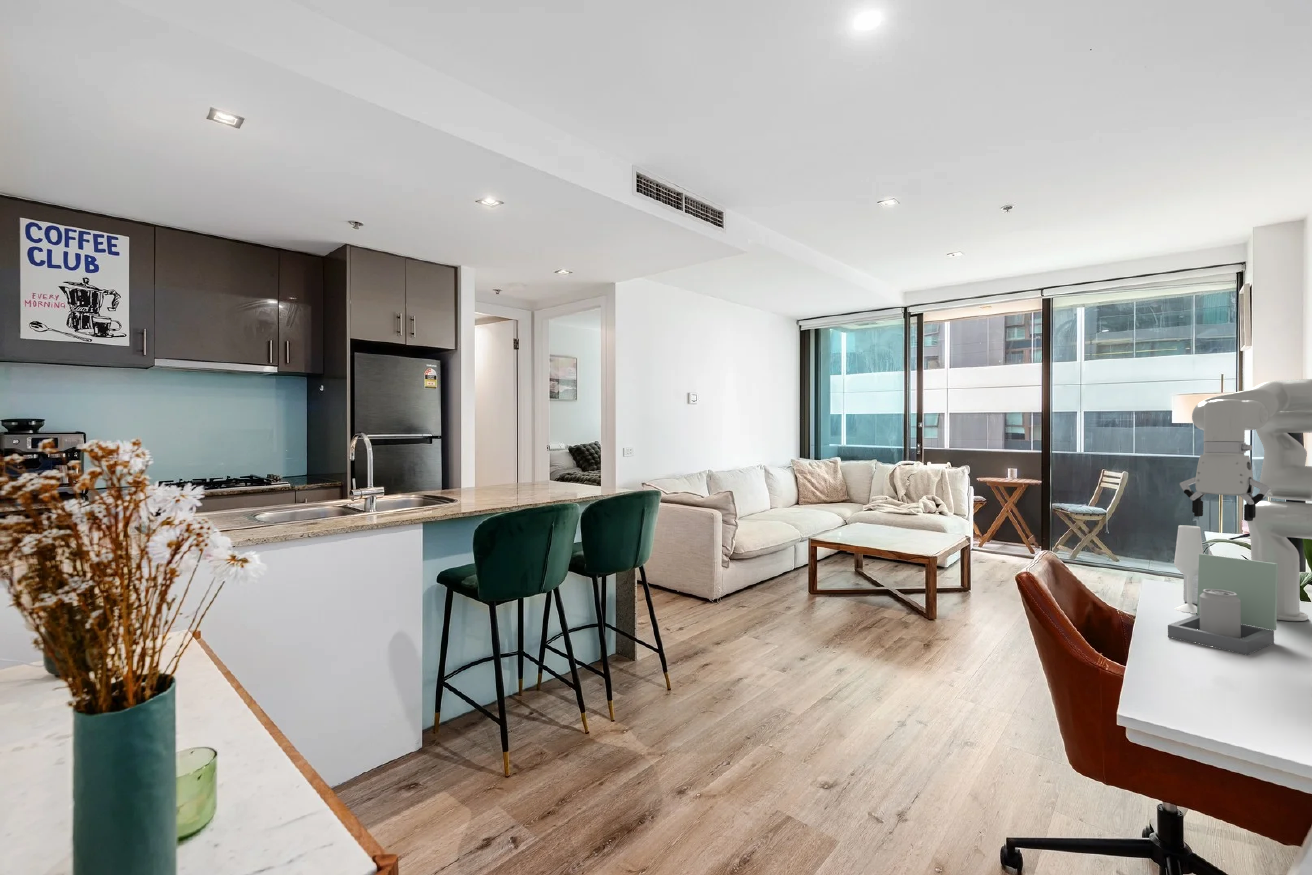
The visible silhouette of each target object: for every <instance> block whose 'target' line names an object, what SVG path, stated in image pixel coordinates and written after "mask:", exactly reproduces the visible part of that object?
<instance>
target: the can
mask: <svg viewBox="0 0 1312 875" xmlns="http://www.w3.org/2000/svg"><path fill="white" fill-rule="evenodd" d="M1203 591H1204V593H1202V594H1201V595H1200V630H1201V631H1206V632H1211V633H1215V634H1220V635H1225V636H1229V637H1234V638H1239V639H1242V638H1241V600H1240V599H1238V598H1237V597H1236V595H1237V594H1236V593H1234V592H1231V591H1226V590H1219V589H1204V590H1203Z"/></svg>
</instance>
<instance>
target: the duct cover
mask: <svg viewBox="0 0 1312 875" xmlns="http://www.w3.org/2000/svg"><path fill="white" fill-rule="evenodd" d="M1204 589H1219V590H1226V591H1231V592H1234V593H1236V594H1237V595H1236V597H1237V598H1238V599H1240V600H1241V624H1243V625H1248V626H1253V627H1258V628H1264V629H1269V630H1274V631H1277V621H1278V620H1277V589H1278V564H1276V563H1268V562H1260V561H1252V560H1251V559H1242V558H1236V557H1229V556H1228V557H1227V556H1221V555H1212V554H1206V553H1204V554H1199V570H1198V600H1197V604H1196V605H1197V606H1196V607H1197V614H1196V615H1198V616H1200V595H1201V594H1202V593H1204V591H1203V590H1204Z"/></svg>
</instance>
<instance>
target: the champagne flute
mask: <svg viewBox="0 0 1312 875" xmlns="http://www.w3.org/2000/svg"><path fill="white" fill-rule="evenodd" d="M1175 545H1176V546H1175V553H1174V562H1173V563H1174V564H1173V565H1174V566H1175V568H1176V569H1177V570H1178V571H1179V572H1180V573H1181V574H1183V576H1184V575H1186V576H1187V602H1186V603H1183V604H1182V605H1179V606H1177V607H1174V610H1176V611H1178V612H1181V613H1186V612H1192V613H1191V614H1194V613H1197V606H1196V604H1194V603H1192V577H1193V576H1196V575H1197V574H1198V570H1199V554H1205V553H1204V546H1203V537H1202V532H1201V527H1200V526H1197V525H1187V524H1186V525H1183V524H1182V525H1181V524H1180V525H1178V527H1177V535H1176V544H1175Z"/></svg>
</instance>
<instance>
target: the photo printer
mask: <svg viewBox="0 0 1312 875" xmlns="http://www.w3.org/2000/svg"><path fill="white" fill-rule="evenodd" d="M1197 600H1198V574H1197V575H1196V576H1193V577H1192V604H1193V605H1197ZM1183 601H1184V602H1186V603H1187V576H1186V575H1184V574H1183Z"/></svg>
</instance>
